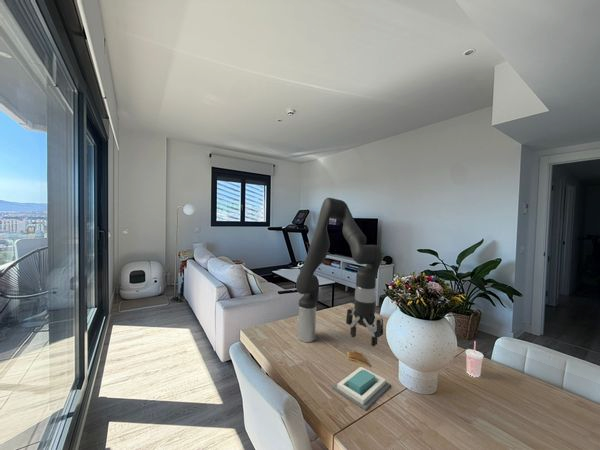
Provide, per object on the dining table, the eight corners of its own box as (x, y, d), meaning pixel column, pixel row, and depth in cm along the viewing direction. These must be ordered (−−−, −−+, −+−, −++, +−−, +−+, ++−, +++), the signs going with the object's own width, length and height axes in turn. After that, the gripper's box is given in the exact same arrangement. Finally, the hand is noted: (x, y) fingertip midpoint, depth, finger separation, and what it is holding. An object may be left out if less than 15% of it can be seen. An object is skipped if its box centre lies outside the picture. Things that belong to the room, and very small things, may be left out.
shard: (370, 368, 106) (370, 364, 106) (353, 369, 105) (353, 365, 105) (360, 354, 117) (360, 350, 117) (345, 355, 115) (345, 351, 115)
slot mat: (332, 388, 92) (332, 383, 92) (358, 368, 104) (359, 363, 104) (365, 410, 82) (365, 404, 82) (390, 385, 94) (390, 380, 94)
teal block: (364, 376, 98) (364, 369, 98) (375, 383, 95) (375, 376, 94) (348, 387, 92) (348, 379, 92) (359, 395, 88) (359, 387, 88)
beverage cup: (461, 369, 106) (462, 337, 106) (475, 369, 106) (477, 337, 106) (471, 378, 100) (473, 345, 99) (486, 379, 100) (488, 345, 99)
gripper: (388, 301, 89) (385, 345, 90) (354, 291, 100) (352, 331, 100) (377, 306, 84) (375, 352, 85) (343, 295, 94) (341, 337, 95)
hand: (363, 341), depth 93 cm, fingers open, 8 cm apart
